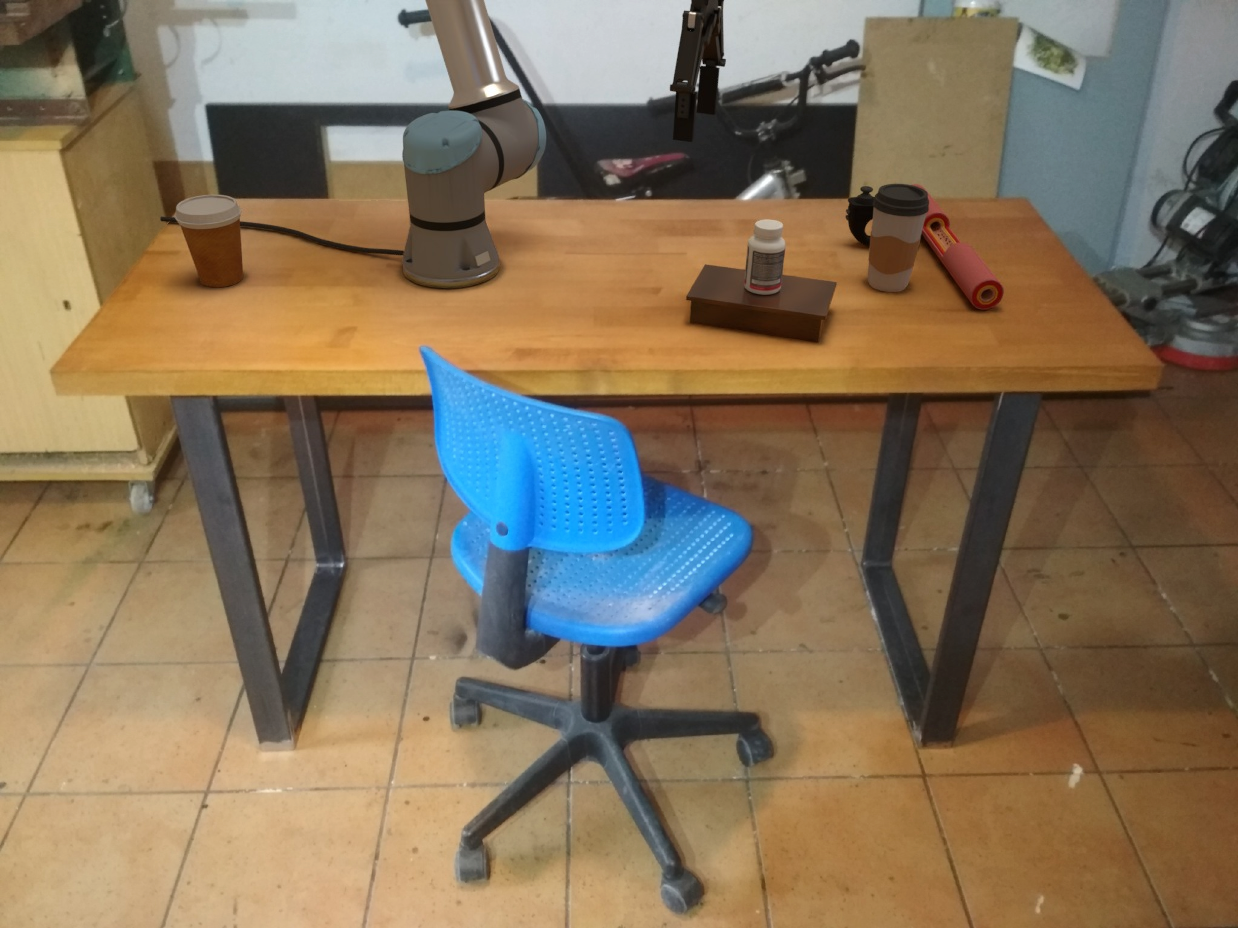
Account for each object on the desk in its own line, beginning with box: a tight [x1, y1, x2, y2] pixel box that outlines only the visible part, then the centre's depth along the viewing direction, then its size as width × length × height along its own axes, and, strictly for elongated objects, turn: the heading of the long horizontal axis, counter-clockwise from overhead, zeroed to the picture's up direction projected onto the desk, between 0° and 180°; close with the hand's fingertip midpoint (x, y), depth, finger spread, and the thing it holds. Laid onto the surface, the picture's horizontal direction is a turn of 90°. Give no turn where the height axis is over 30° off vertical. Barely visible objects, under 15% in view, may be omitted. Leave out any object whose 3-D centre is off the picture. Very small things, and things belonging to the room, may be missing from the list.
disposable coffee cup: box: [174, 194, 244, 288], centre depth 162 cm, size 10×10×12 cm
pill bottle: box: [744, 218, 787, 295], centre depth 152 cm, size 5×5×10 cm
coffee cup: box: [866, 183, 929, 293], centre depth 163 cm, size 8×8×15 cm
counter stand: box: [685, 263, 838, 343], centre depth 156 cm, size 20×12×4 cm, turn 73°
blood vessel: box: [911, 183, 1005, 311], centre depth 176 cm, size 42×5×5 cm, turn 2°
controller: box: [844, 185, 875, 247], centre depth 178 cm, size 4×12×10 cm, turn 95°
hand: (694, 126), depth 151 cm, fingers open, 13 cm apart
